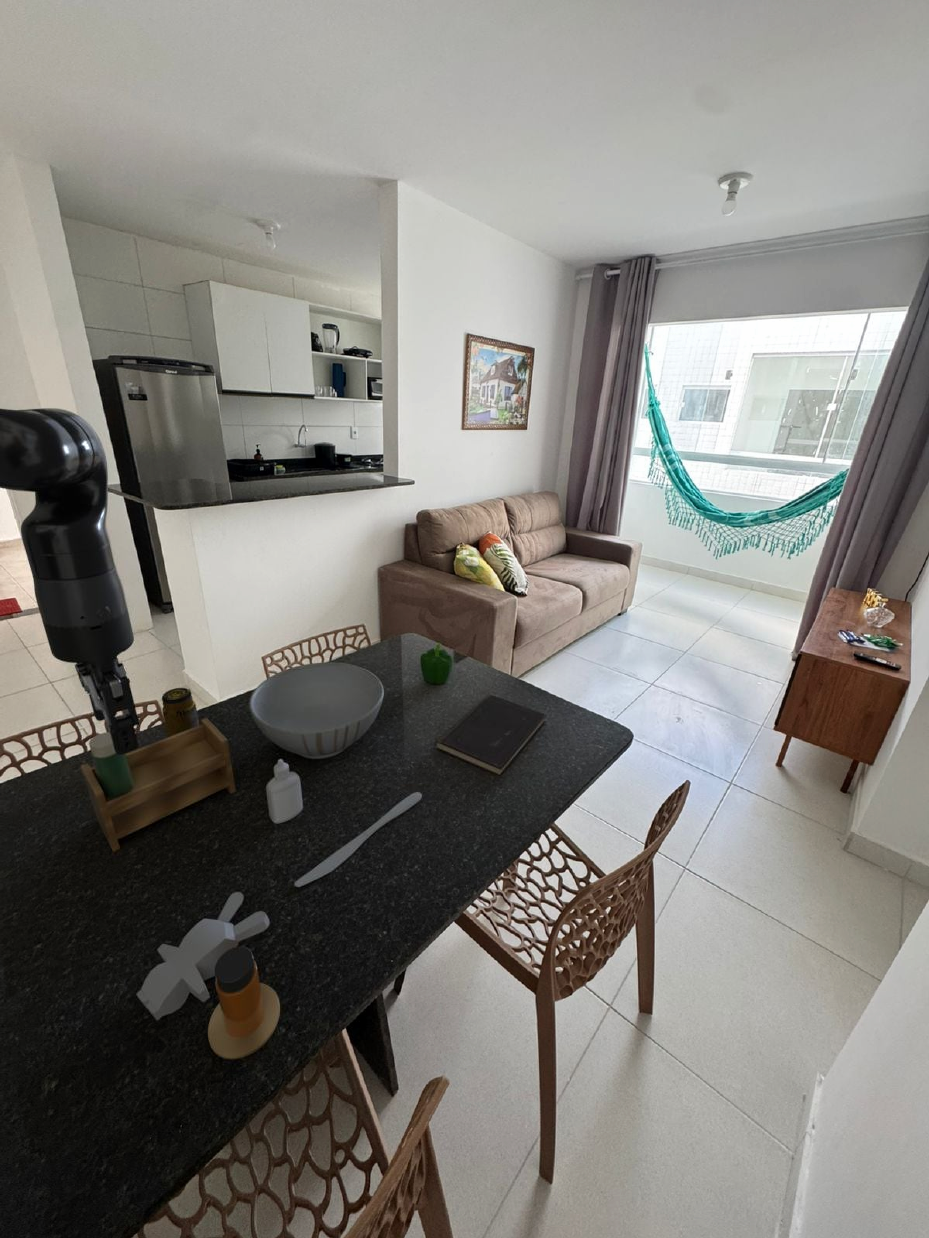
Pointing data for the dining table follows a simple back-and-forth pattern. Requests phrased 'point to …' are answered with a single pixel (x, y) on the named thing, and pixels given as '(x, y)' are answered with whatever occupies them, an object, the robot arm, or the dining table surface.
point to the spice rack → (164, 780)
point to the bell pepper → (436, 665)
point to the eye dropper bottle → (284, 794)
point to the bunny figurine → (196, 959)
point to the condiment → (179, 711)
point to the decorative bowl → (317, 707)
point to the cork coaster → (248, 1044)
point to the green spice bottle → (110, 767)
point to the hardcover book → (492, 734)
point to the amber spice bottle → (239, 991)
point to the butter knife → (356, 842)
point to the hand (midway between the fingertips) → (116, 733)
